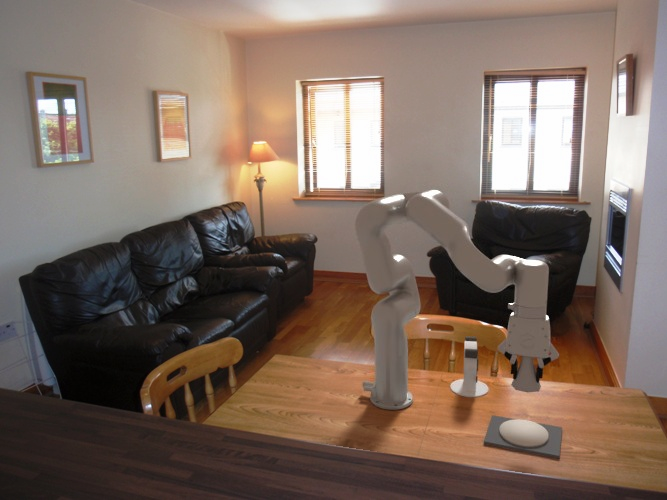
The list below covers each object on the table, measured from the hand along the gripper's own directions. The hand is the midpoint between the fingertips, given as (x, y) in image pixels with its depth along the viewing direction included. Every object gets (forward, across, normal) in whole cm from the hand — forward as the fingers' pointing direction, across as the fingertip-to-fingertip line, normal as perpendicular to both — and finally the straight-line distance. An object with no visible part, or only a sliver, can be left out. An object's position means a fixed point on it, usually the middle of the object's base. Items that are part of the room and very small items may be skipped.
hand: (526, 377), depth 146 cm
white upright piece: (+17, -18, +22) cm, 33 cm away
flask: (+3, 0, 0) cm, 3 cm away
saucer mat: (+17, 0, 0) cm, 17 cm away
